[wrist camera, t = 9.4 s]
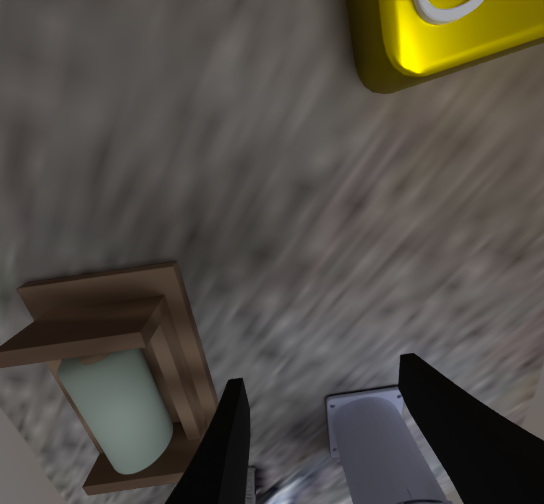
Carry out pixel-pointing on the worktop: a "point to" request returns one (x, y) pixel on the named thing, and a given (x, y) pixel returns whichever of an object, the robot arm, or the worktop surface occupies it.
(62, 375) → the paper roll
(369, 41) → the element tile
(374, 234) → the worktop surface
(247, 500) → the candy bar box
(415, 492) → the robot arm
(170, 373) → the roll cradle
